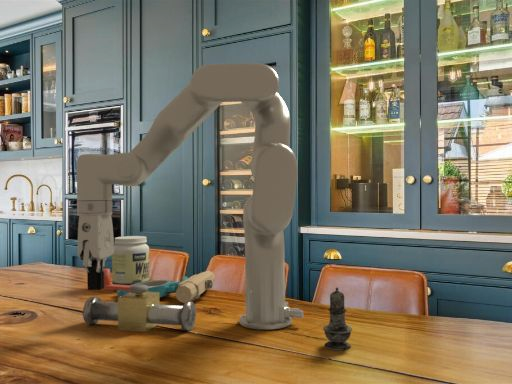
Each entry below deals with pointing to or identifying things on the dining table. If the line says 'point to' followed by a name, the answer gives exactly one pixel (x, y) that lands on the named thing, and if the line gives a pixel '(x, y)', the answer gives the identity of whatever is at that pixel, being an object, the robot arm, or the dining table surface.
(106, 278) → the lever
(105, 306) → the valve body
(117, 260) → the supplement tub
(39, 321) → the dining table surface
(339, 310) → the salt shaker
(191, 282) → the butterfly valve
